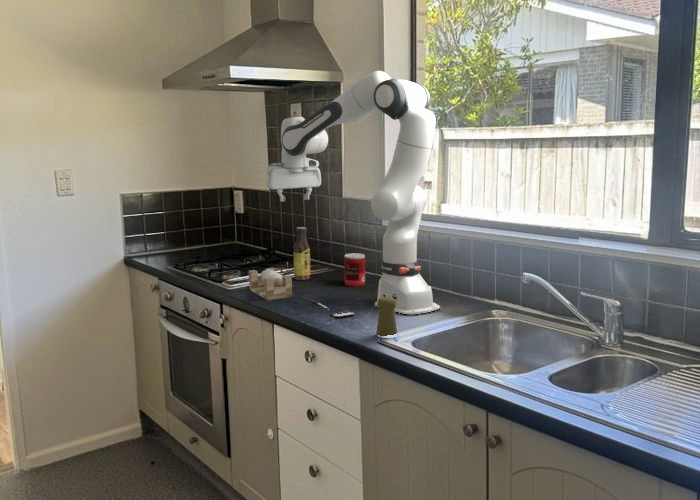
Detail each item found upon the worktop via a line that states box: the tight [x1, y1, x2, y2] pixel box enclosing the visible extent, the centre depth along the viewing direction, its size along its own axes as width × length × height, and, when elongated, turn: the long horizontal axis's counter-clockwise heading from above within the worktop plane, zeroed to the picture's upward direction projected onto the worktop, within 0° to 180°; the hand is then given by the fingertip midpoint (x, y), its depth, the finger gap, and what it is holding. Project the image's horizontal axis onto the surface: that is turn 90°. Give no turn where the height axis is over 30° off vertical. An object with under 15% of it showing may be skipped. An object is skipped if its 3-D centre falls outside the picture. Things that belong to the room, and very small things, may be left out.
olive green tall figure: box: [376, 297, 398, 336], centre depth 188 cm, size 6×6×11 cm
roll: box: [260, 268, 285, 287], centre depth 236 cm, size 16×5×5 cm
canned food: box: [343, 252, 366, 288], centre depth 247 cm, size 8×8×11 cm
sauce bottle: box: [293, 226, 311, 281], centre depth 256 cm, size 7×6×20 cm
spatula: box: [301, 296, 355, 317], centre depth 219 cm, size 6×29×2 cm, turn 31°
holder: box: [248, 267, 293, 301], centre depth 236 cm, size 18×9×7 cm, turn 29°
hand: (294, 200), depth 244 cm, fingers open, 8 cm apart
